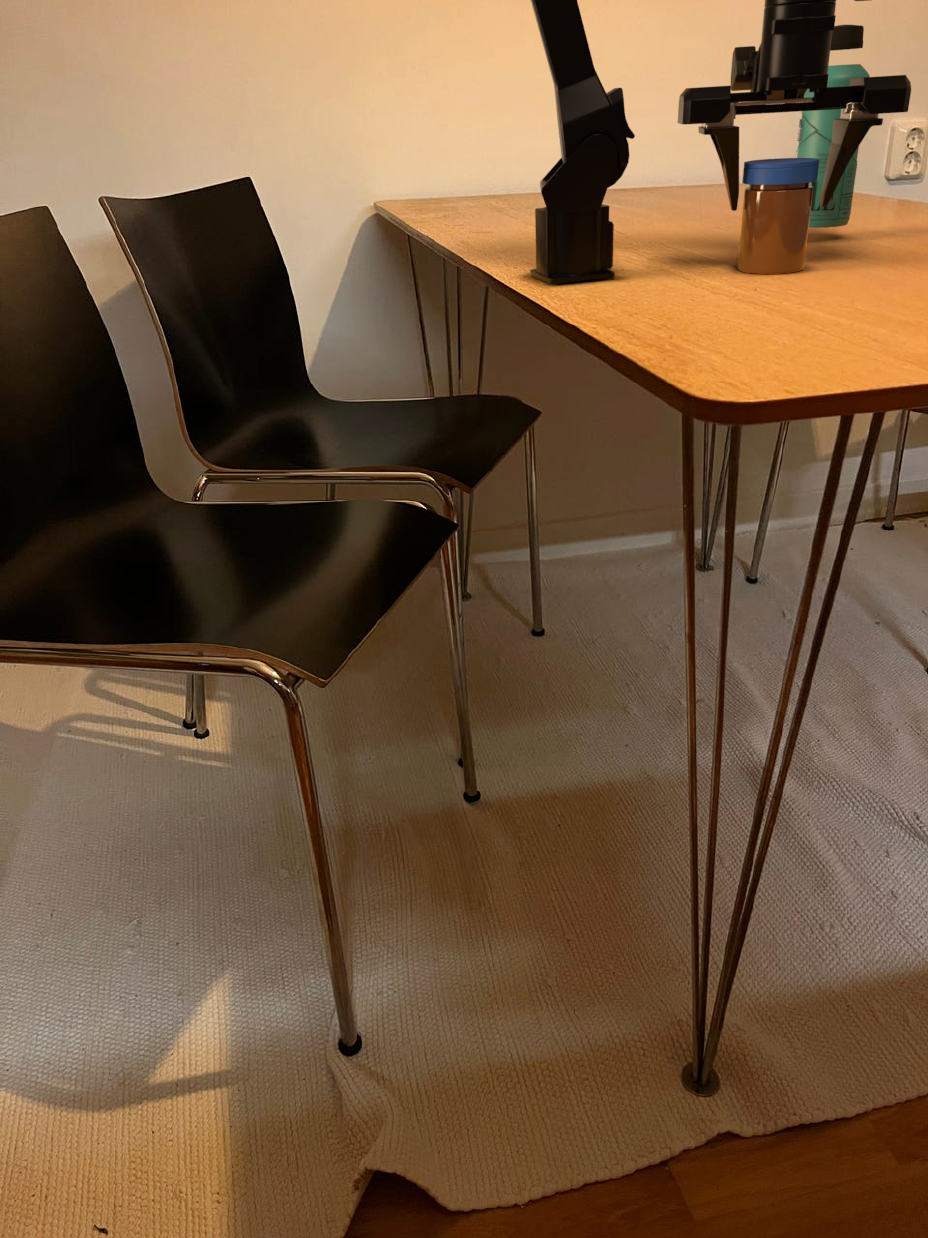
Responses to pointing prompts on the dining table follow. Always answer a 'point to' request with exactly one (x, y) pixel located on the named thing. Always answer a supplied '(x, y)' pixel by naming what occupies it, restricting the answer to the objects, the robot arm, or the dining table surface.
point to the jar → (774, 228)
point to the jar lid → (780, 171)
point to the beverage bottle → (819, 136)
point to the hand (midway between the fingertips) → (778, 208)
